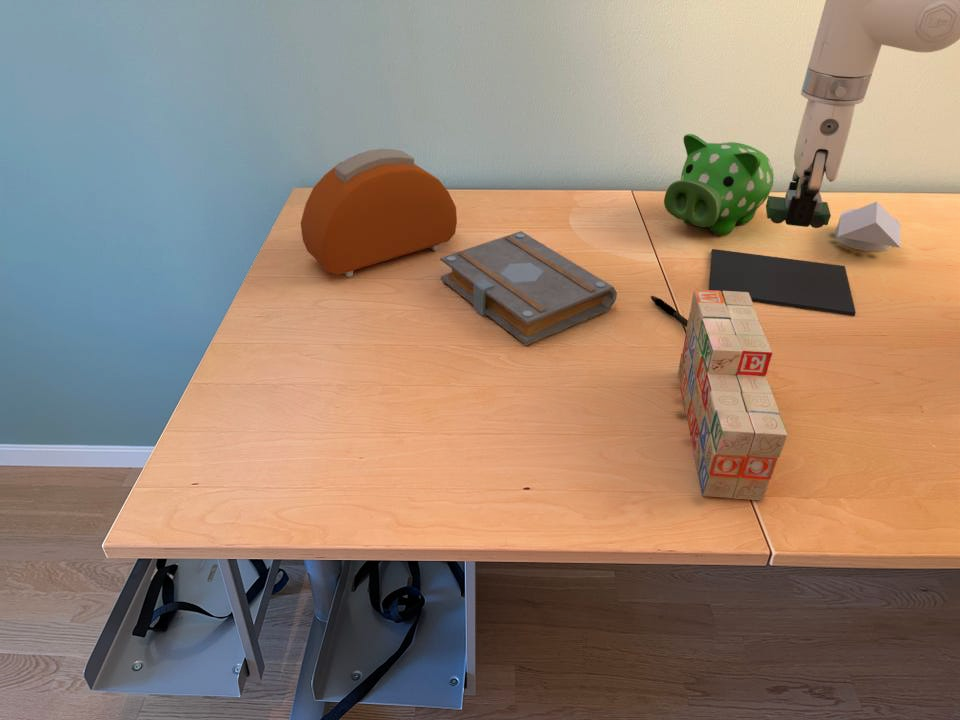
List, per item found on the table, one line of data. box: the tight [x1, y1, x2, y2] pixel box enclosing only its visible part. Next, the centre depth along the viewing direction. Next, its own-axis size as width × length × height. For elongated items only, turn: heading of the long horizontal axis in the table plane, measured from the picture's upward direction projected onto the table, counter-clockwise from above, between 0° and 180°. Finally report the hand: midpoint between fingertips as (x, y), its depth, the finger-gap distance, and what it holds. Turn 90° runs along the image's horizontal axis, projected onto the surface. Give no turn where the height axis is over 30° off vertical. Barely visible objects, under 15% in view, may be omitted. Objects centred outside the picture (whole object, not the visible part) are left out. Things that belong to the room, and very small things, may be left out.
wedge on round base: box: [834, 201, 902, 253], centre depth 114 cm, size 9×7×13 cm
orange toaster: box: [300, 148, 458, 278], centre depth 108 cm, size 23×9×17 cm, turn 123°
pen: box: [650, 295, 688, 328], centre depth 96 cm, size 14×2×1 cm, turn 26°
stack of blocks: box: [677, 289, 788, 501], centre depth 76 cm, size 21×6×12 cm, turn 174°
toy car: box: [765, 189, 832, 229], centre depth 99 cm, size 8×4×4 cm
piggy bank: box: [663, 133, 775, 237], centre depth 118 cm, size 14×18×15 cm
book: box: [439, 230, 618, 346], centre depth 101 cm, size 21×16×5 cm
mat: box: [708, 248, 857, 317], centre depth 106 cm, size 20×14×1 cm
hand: (796, 215), depth 100 cm, fingers closed on toy car, 4 cm apart
